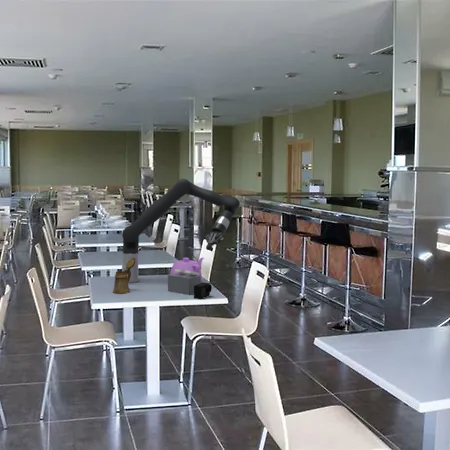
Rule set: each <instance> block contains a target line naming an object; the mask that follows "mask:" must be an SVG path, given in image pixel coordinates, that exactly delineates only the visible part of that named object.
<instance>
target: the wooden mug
mask: <svg viewBox="0 0 450 450" xmlns="http://www.w3.org/2000/svg"><path fill="white" fill-rule="evenodd" d="M134 264H135V258H132V259H131V260H129V261H128V262H127V265H126V270H125V271H122V270H118V271H116V272H115V274H114V286H113V289H112V293H114V294H121V295H122V294H124V295H125V294H128V293H130V287H129V280H130V277H131V271H130V269H131V268H132V267H133V266H134ZM127 274H128V275H127ZM127 277H128V278H127Z"/></svg>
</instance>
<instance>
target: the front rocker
mask: <svg viewBox="0 0 450 450" xmlns="http://www.w3.org/2000/svg"><path fill="white" fill-rule="evenodd" d="M185 272H186V273H188V274H189V275H195V274H196V275H198V273H197V272H194V271H188V270H185Z"/></svg>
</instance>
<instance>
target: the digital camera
mask: <svg viewBox="0 0 450 450" xmlns="http://www.w3.org/2000/svg"><path fill="white" fill-rule="evenodd" d="M211 292H212V284H211V283H210V282H201V283H200V284H197V285H195V286H194V294H193V299H197V300H203V299H205V298H207V296H208V297H209V295H210V296H211Z"/></svg>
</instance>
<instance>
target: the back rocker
mask: <svg viewBox="0 0 450 450" xmlns="http://www.w3.org/2000/svg"><path fill="white" fill-rule="evenodd" d="M175 271H177V272H178V273H183V274H184V273H186V272H185V270H179V269H175Z"/></svg>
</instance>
